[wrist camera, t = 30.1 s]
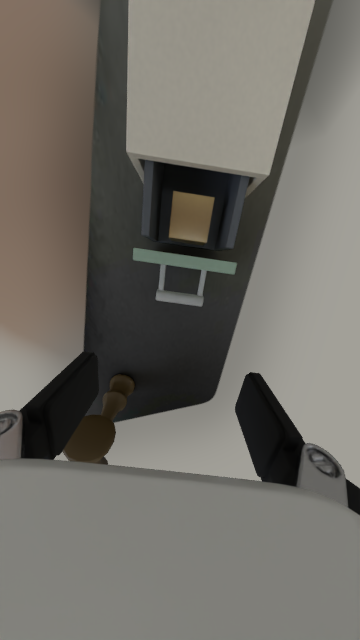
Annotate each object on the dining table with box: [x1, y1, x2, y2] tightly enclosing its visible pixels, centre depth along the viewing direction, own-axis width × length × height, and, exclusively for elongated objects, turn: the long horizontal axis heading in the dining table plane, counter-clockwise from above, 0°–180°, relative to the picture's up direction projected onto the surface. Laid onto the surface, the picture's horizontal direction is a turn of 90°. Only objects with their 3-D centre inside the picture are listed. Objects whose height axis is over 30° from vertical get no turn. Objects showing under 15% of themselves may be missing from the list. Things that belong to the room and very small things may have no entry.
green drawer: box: [133, 160, 250, 306], centre depth 20 cm, size 18×11×8 cm, turn 172°
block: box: [169, 191, 215, 245], centre depth 20 cm, size 4×4×4 cm
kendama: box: [62, 374, 135, 465], centre depth 25 cm, size 6×10×20 cm, turn 163°
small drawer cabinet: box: [126, 0, 315, 198], centre depth 16 cm, size 14×12×10 cm
